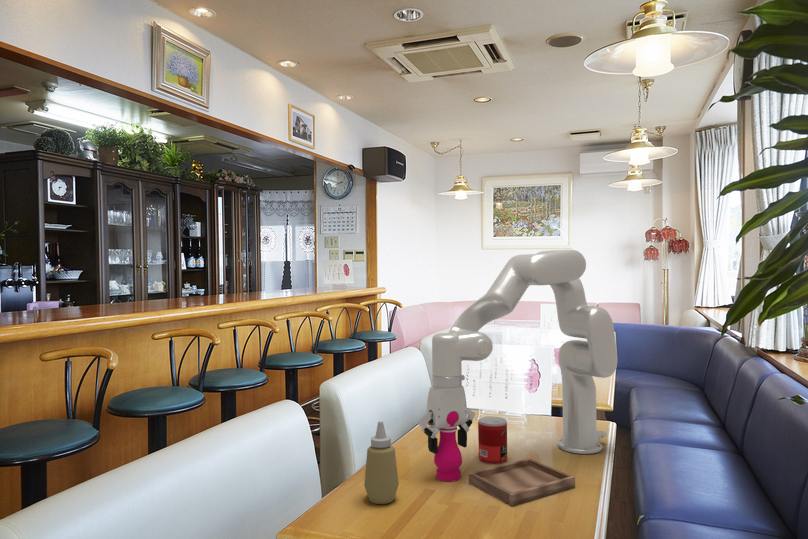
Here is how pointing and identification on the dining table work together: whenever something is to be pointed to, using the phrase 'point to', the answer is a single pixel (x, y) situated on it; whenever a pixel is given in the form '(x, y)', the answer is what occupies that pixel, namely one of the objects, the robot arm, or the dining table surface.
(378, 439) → the squeeze bottle
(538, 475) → the walnut tray
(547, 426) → the dining table surface
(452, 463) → the pepper mill
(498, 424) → the canned food
